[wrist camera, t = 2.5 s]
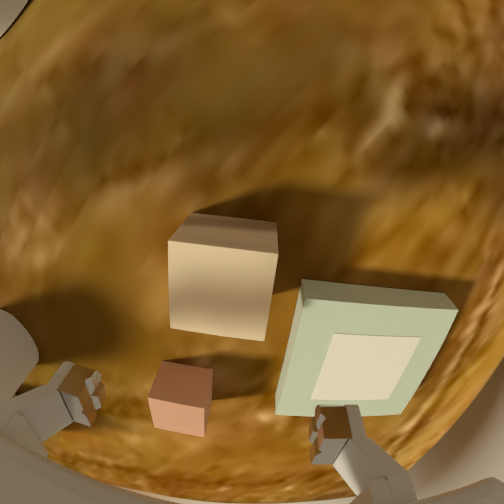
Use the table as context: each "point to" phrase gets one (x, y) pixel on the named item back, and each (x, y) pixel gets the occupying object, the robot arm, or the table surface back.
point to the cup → (14, 355)
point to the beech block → (222, 275)
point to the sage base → (360, 347)
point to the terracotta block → (181, 398)
